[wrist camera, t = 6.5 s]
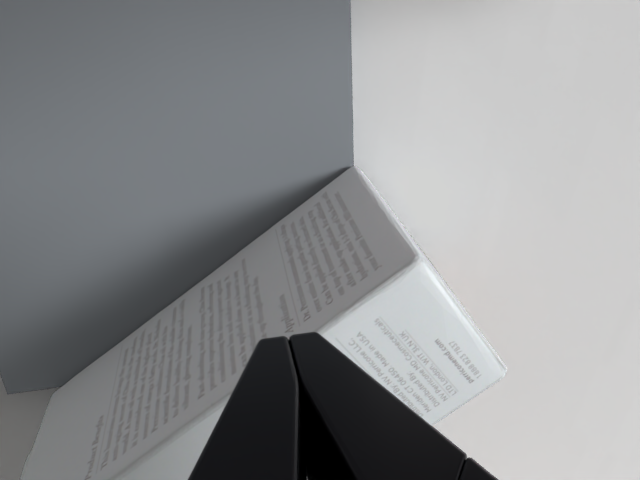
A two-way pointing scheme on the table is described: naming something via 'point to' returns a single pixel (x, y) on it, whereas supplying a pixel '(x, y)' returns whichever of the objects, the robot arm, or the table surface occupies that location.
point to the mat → (151, 156)
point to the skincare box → (265, 322)
